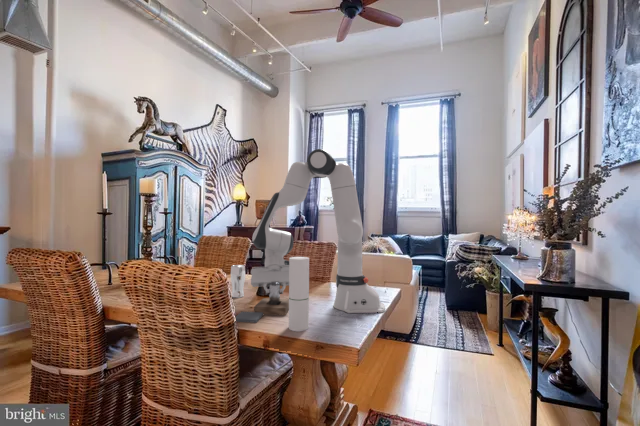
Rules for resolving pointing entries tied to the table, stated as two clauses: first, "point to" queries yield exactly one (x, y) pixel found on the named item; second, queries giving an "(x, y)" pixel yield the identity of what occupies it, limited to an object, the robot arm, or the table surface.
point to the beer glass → (237, 280)
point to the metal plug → (274, 293)
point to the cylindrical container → (298, 293)
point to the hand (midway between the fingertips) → (274, 293)
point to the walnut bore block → (272, 307)
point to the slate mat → (249, 316)
